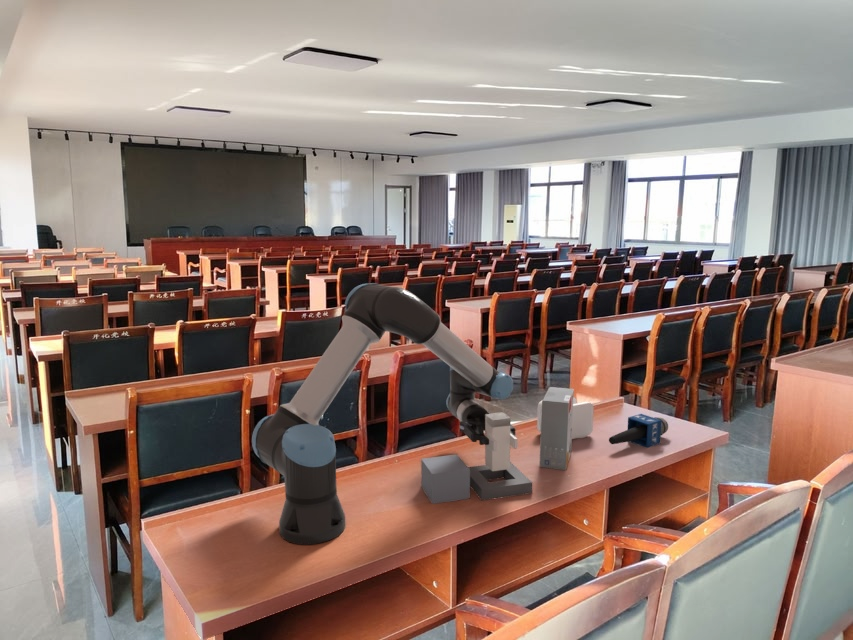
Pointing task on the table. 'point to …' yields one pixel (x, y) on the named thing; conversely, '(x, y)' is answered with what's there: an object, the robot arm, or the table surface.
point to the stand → (445, 478)
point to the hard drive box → (556, 428)
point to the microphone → (642, 431)
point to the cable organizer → (575, 418)
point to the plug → (498, 441)
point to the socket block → (498, 482)
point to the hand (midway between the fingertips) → (505, 445)
